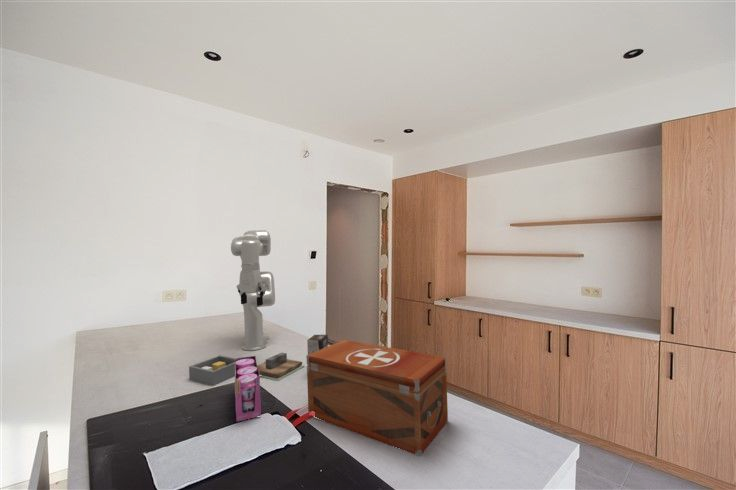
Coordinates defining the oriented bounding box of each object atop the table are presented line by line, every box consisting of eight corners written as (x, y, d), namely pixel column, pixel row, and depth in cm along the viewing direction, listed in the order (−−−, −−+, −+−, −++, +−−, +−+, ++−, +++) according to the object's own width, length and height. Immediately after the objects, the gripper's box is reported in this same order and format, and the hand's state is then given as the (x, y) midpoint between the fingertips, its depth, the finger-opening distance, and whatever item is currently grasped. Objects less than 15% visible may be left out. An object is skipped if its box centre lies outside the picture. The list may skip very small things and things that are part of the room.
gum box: (262, 419, 109) (260, 377, 109) (235, 424, 106) (234, 382, 106) (257, 389, 131) (255, 355, 131) (235, 393, 128) (234, 358, 128)
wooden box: (345, 391, 127) (344, 339, 127) (449, 421, 104) (447, 357, 104) (307, 416, 110) (305, 355, 110) (421, 457, 88) (418, 381, 87)
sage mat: (276, 361, 162) (276, 360, 162) (304, 366, 154) (304, 365, 154) (248, 374, 147) (248, 373, 147) (278, 380, 139) (278, 379, 139)
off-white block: (206, 375, 145) (205, 366, 145) (212, 376, 143) (212, 367, 143) (197, 378, 141) (197, 369, 141) (204, 380, 139) (203, 370, 139)
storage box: (220, 369, 154) (219, 355, 154) (243, 374, 147) (243, 359, 147) (189, 382, 141) (189, 366, 141) (213, 388, 134) (213, 372, 134)
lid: (275, 360, 161) (275, 348, 161) (302, 365, 154) (301, 353, 154) (250, 372, 147) (249, 359, 147) (277, 378, 140) (277, 364, 140)
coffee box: (322, 379, 140) (321, 340, 139) (307, 378, 141) (306, 339, 141) (329, 370, 148) (328, 334, 148) (315, 370, 150) (314, 333, 150)
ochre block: (219, 370, 150) (219, 361, 150) (226, 371, 148) (225, 362, 148) (212, 373, 147) (211, 364, 147) (218, 374, 145) (217, 365, 145)
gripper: (230, 267, 155) (231, 304, 155) (259, 269, 147) (260, 307, 148) (242, 266, 161) (244, 301, 162) (270, 267, 154) (272, 304, 155)
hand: (251, 304), depth 155 cm, fingers open, 9 cm apart
